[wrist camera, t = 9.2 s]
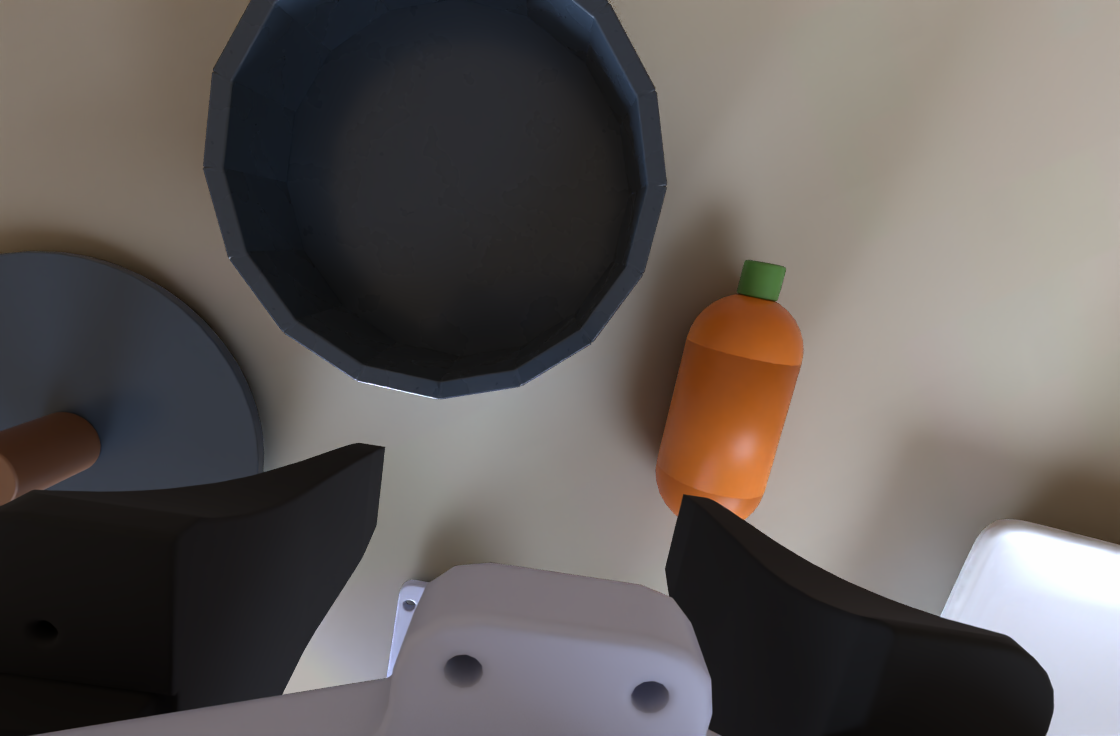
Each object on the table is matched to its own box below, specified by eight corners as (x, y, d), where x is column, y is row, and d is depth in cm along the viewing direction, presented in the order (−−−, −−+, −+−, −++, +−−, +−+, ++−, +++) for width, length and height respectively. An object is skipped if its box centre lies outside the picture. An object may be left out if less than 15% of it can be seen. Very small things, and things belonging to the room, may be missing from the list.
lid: (311, 563, 24) (255, 637, 19) (-13, 612, 24) (-141, 697, 20) (213, 222, 21) (120, 216, 16) (-155, 283, 21) (-345, 295, 17)
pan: (660, 337, 22) (687, 360, 18) (329, 390, 22) (275, 425, 18) (614, -42, 19) (632, -126, 15) (235, 24, 19) (143, -39, 15)
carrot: (731, 506, 24) (766, 559, 20) (638, 490, 23) (655, 540, 20) (796, 271, 22) (850, 277, 18) (695, 251, 21) (726, 253, 17)
